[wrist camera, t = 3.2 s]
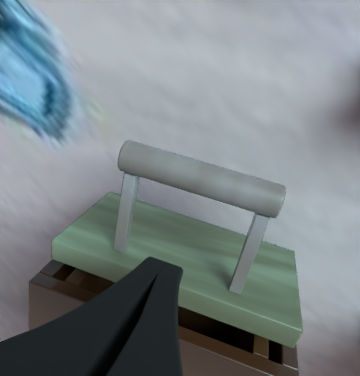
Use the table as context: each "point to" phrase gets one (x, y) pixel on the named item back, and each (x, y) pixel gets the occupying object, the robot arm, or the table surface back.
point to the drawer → (193, 250)
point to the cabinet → (188, 340)
